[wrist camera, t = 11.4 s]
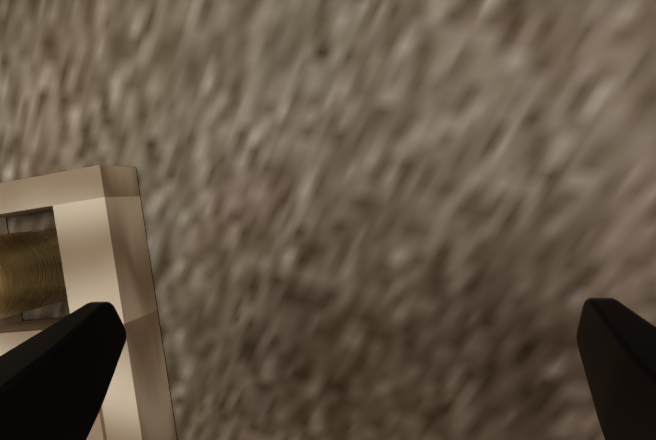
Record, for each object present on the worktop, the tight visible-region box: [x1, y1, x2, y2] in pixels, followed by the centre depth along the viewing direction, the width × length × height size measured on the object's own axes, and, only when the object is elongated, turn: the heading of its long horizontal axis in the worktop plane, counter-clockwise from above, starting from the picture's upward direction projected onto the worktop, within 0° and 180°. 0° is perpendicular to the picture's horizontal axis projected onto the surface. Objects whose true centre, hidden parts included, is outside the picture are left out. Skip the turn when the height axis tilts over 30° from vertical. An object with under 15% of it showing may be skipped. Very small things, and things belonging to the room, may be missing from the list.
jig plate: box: [0, 165, 177, 440], centre depth 23 cm, size 20×12×3 cm, turn 7°
